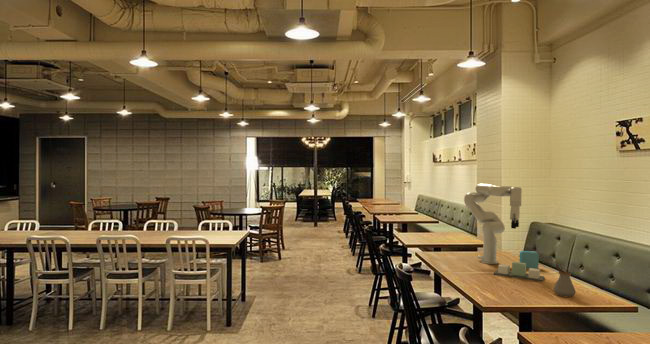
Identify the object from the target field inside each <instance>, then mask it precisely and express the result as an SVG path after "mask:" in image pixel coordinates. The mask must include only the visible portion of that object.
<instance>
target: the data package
mask: <svg viewBox="0 0 650 344" xmlns="http://www.w3.org/2000/svg"><path fill="white" fill-rule="evenodd" d="M539 256H540V254H539V252H537V251H533V250H532V251H531V250H521V251H519V262H520V263H526V269H530V268H535V269H539V261H540V257H539Z"/></svg>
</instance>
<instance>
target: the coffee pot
mask: <svg viewBox="0 0 650 344" xmlns="http://www.w3.org/2000/svg"><path fill="white" fill-rule="evenodd" d="M554 267H556V268H557V271H558V274H559V277H558V278H557V281H556V282H555V284H554V287H552V288H553V289H552V290H553V292H554V293H555V294H556V295H557V294H558V295H557V296H559V295H562V296H561V297H563V296H574V295H576V288H575V286H574V284H573V281H572V279H571V275H572V273H571V272H567V271H561V269H560V267H559V264H557V263H555V264H554Z"/></svg>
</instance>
